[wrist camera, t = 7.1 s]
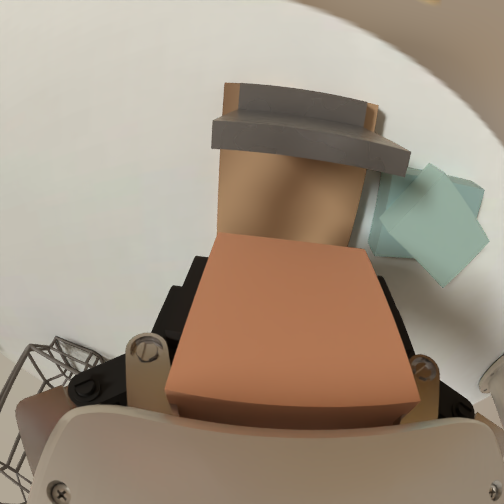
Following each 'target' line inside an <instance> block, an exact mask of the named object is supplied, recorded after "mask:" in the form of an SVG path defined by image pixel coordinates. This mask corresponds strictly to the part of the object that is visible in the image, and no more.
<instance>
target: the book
mask: <svg viewBox="0 0 504 504" xmlns="http://www.w3.org/2000/svg"><path fill="white" fill-rule="evenodd" d="M164 390H165V393H166V396H167V399H168V402H169V403H171V404H176V405H177V407H178V410H179V413H180V417H183V418H189V419H195V420H201V421H207V422H214V423H221V424H229V425H237V426H246V427H258V428H271V429H291V430H339V429H359V428H373V427H383V426H392V425H393V422H394V421H395V420H396V419H398V418H399V417H400V416H401V415H402V414H408V413H409V412H410V411H411V410H412V409H413V408H414V407H415V406H416V405H417V404H418V403H419V402H420V401H421V400H420V396H419V393H418V389H417V386H416V382H415V379H414V376H413V373H412V369H411V366H410V363H409V360H408V357H407V354H406V351H405V348H404V345H403V342H402V340H401V337H400V334H399V331H398V329H397V326H396V323H395V320H394V318H393V315H392V313H391V310H390V307H389V305H388V302H387V300H386V297H385V295H384V293H383V290H382V288H381V285H380V283H379V281H378V278H377V276H376V274H375V271H374V269H373V267H372V264H371V262H370V260H369V258H368V256H367V253H366V251H365V249H359V248H351V247H343V246H335V245H327V244H319V243H310V242H302V241H294V240H285V239H276V238H268V237H259V236H250V235H241V234H231V233H222V232H218V234H217V237H216V239H215V242H214V245H213V247H212V250H211V253H210V255H209V258H208V261H207V264H206V266H205V269H204V272H203V275H202V277H201V280H200V283H199V286H198V289H197V292H196V294H195V297H194V300H193V303H192V306H191V309H190V312H189V315H188V318H187V321H186V323H185V326H184V329H183V332H182V335H181V338H180V341H179V344H178V347H177V351H176V354H175V357H174V360H173V363H172V366H171V369H170V372H169V375H168V379H167V382H166V385H165V388H164Z"/></svg>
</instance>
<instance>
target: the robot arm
mask: <svg viewBox="0 0 504 504" xmlns="http://www.w3.org/2000/svg"><path fill="white" fill-rule="evenodd" d="M208 258H209V257H201V256H195V258H194V260H193V263H192V265H191V267H190V270H189V272H188V274H187V277H186V279H185V281H184V284H183V286H182V287H181V286H174V285H173V286H172V287H171V289H170V291H169V293H168V295H167V298H166V300H165V302H164V304H163V306H162V309H161V311H160V313H159V315H158V318H157V320H156V322H155V325H154V327H153V329H152V332H151V333H142V334H138V335H136V336H134V337H133V338H132V339H131V340H129V342H128V344H127V345H126V350H125V354H123V355H121V356H119V357H116V358H114V359H112V360H109V361H107V362H105V363H102V364H100V365H97V366H95V367H93V368H90V369H88V370H85V371H83V372H81V373H79V374H77V375H75V376H74V377H73V378H72V379H71V381H70V383H69V385H68V386H66V387H63V386H62V385H60V386H57V387H55V388H52V389H49V390H47V391H44V392H41V393H39V394H36V395H33V396H30V397H27V398H25V399H23V400H22V401H20V402H19V404H18V405H17V407H16V410H15V412H16V420H17V424H18V428H19V432H20V436H21V439H22V443H23V447H24V450H25V453H26V456H27V459H28V462H29V465H30V468H31V471H32V474H33V476H34V478H33V482H32V485H31V489H30V492H29V496H28V500H27V504H504V462H503V456H504V355H503V356H502V357H501V358H499V359H498V360H497V361H496V362H495V363H494V364H493V365H492V366H491V367H490V368H489V369H488V370H487V372H486V373H485V374H484V375H483V377H482V379H481V380H480V383H479V388H480V391H481V392H482V393H490V392H491V395H492V398H493V400H494V403H495V406H496V408H497V411H498V414H499V417H500V420H501V423H502V426H503V429H502V428H500V427H499V426H497V425H496V424H494V423H493V422H491V421H490V420H488V419H487V418H485V417H484V416H483V415H481V414H479V413H478V412H477V413H476V414H474V409H473V406H472V404H471V403H470V401H468V400H467V399H466V398H465V397H463V396H462V395H460V394H459V393H458V392H456V391H455V390H453V389H452V388H450V387H449V386H448V385H446V384H445V383H443V382H442V381H440V373H439V368H438V366H437V364H436V363H435V361H434V360H433V359H431V358H430V357H428V356H426V355H422V354H418V355H415V352H414V350H413V347H412V344H411V341H410V339H409V336H408V333H407V331H406V328H405V326H404V323H403V321H402V318H401V316H400V313H399V311H398V309H397V307H396V305H395V303H394V300H393V298H392V296H391V293H390V291H389V289H388V286H387V284H386V282H385V280H384V278H383V277H382V276H377V278H378V281H379V283H380V285H381V288H382V290H383V293H384V295H385V297H386V300H387V302H388V305H389V307H390V310H391V313H392V315H393V318H394V320H395V323H396V326H397V329H398V331H399V334H400V337H401V340H402V342H403V345H404V348H405V351H406V354H407V357H408V360H409V363H410V366H411V369H412V373H413V376H414V379H415V382H416V386H417V389H418V393H419V396H420V400H421V401H420V402H419V403H418V404H417V405H416V406H415V407H414V408H413V409H412V410H411V411H410V412H409V413H408V414H402V415H401V416H400V417H399V418H398V419H396V420H395V421H394V422H393V425H392V426H383V427H373V428H359V429H339V430H291V429H271V428H258V427H246V426H237V425H229V424H221V423H214V422H207V421H201V420H195V419H189V418H183V417H180V413H179V410H178V407H177V405H176V404H171V403H169V402H168V399H167V396H166V393H165V390H164V388H165V385H166V382H167V379H168V375H169V372H170V369H171V366H172V363H173V360H174V357H175V354H176V351H177V347H178V344H179V341H180V338H181V335H182V332H183V329H184V326H185V323H186V321H187V318H188V315H189V312H190V309H191V306H192V303H193V300H194V297H195V294H196V292H197V289H198V286H199V283H200V280H201V277H202V275H203V272H204V269H205V266H206V264H207V261H208Z"/></svg>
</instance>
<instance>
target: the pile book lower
mask: <svg viewBox="0 0 504 504" xmlns="http://www.w3.org/2000/svg"><path fill="white" fill-rule="evenodd" d="M422 171H423V170H419V169H413V168H408V167H407V171H406V175H405V177H401V176H397V175H393V174H388V173H384V172H382V173H381V179H380V185H379V191H378V196H377V201H376V207H375V212H374V217H373V221H372V226H371V231H370V235H369V240H368V244H369V246H370V248H371V250H372V252H373V254H374V256H383V257H401V258H414V257H413V256H412V255H411V254H410V253H409V252H408V251H407V250H406V249H405V248H404V247H403V246H402V245H401V244H400V243H399V242H398V241H397V240H396V239H395V238H394V237H393V236H392V235H390V234H389V232H388V231H387V229H386V228H385V226H384V225H383V223H382V222H381V220H380V219H379V217H380V216H381V215H382V214H383V213H384V212H385V211H386V210H387V209H388V208H389V207H390V206H391V205H392V204H393V203H394V202H395V201H396V199H397V198H398V197H399V196H400V195H401V194H402V193H403V192H404V191H405V190H406V189H407V188H408V186H409V185H410V184H411V183H412V182H413V181H414V180H415V179H416V178H417V176H418V175H419V174H420V173H421V172H422ZM447 176H448V178H449V179H450V180H451V182H452V183H453V185H454V186H455V187H456V189H457V190H458V192H459V193H460V194H461V196H462V197H463V199H464V200H465V202H466V203H467V205H468V206H469V208H470V209H471V211H472V213H473V214H474V216H475V217H476V218H477V215H478V212H479V208H480V205H481V201H482V198H483V194H484V189H483V188H481V187H480V186H478V185H477V184H475V183H474V182H472V181H470V180H466V179H462V178H457V177H453V176H449V175H447Z"/></svg>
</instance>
